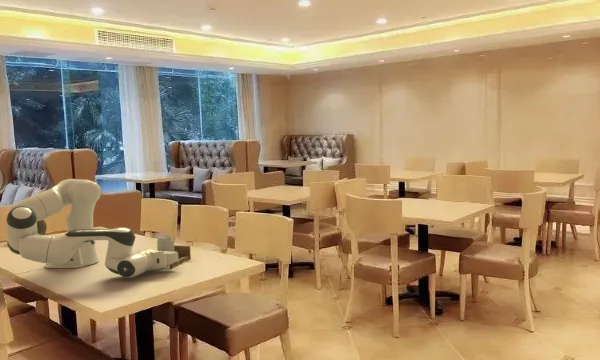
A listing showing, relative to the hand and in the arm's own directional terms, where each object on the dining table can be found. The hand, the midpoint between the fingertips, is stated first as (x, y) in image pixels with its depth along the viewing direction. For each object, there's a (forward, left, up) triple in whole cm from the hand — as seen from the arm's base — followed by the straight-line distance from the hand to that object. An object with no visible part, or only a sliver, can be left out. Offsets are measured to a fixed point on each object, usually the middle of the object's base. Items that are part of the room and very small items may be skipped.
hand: (164, 252), depth 229 cm
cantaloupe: (-79, +73, -6) cm, 108 cm away
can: (0, +4, -6) cm, 7 cm away
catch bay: (+1, +4, -6) cm, 7 cm away
